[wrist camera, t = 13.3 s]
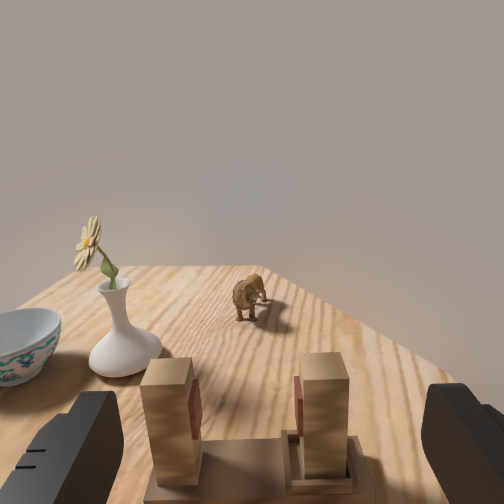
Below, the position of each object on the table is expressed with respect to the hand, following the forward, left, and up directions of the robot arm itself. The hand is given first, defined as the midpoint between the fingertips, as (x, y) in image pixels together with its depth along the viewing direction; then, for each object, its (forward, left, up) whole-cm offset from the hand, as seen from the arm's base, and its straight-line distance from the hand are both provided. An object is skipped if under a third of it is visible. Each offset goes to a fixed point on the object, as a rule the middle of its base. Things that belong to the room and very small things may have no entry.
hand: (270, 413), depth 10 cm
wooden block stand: (-1, +22, -29) cm, 37 cm away
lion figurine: (-2, +60, -29) cm, 67 cm away
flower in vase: (-22, +44, -29) cm, 58 cm away
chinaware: (-39, +43, -29) cm, 66 cm away
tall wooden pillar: (+5, +22, -27) cm, 35 cm away
